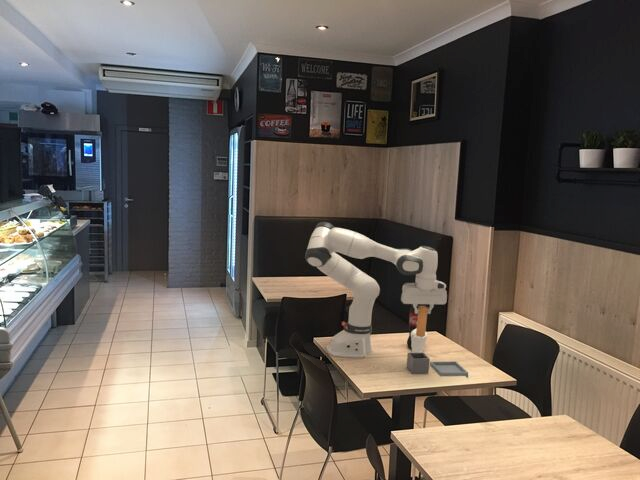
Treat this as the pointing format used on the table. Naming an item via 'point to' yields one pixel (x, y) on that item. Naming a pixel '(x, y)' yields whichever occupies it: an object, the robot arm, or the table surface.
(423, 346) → the soft serve ice cream cone
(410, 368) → the square hollow box
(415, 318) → the cola bottle
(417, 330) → the peg
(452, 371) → the tray
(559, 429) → the table surface
